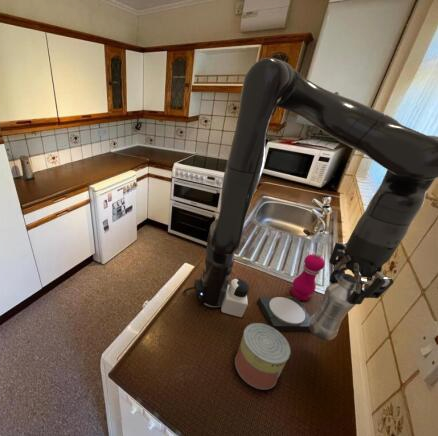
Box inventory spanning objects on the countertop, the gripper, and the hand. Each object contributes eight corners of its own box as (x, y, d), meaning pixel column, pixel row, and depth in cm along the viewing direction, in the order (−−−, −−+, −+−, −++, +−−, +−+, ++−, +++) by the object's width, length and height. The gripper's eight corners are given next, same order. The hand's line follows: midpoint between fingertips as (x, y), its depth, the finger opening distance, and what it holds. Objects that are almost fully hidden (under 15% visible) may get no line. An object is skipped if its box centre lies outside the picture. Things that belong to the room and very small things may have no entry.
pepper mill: (313, 303, 88) (335, 260, 79) (292, 300, 90) (311, 258, 80) (306, 289, 95) (325, 248, 85) (287, 286, 96) (303, 245, 86)
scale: (271, 330, 78) (274, 324, 77) (257, 301, 89) (259, 295, 87) (314, 331, 78) (318, 325, 77) (295, 302, 89) (297, 296, 87)
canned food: (274, 399, 61) (288, 373, 55) (230, 374, 66) (238, 347, 60) (279, 361, 69) (292, 335, 63) (240, 342, 74) (248, 316, 69)
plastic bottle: (328, 326, 68) (360, 272, 58) (336, 347, 62) (373, 292, 53) (303, 319, 70) (330, 266, 60) (308, 339, 64) (339, 284, 55)
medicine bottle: (240, 302, 89) (250, 279, 83) (241, 318, 83) (252, 294, 77) (221, 297, 90) (229, 274, 84) (221, 312, 84) (230, 288, 78)
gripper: (335, 218, 57) (310, 272, 65) (388, 256, 44) (348, 316, 52) (367, 219, 57) (338, 272, 65) (428, 257, 44) (383, 317, 52)
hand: (343, 292), depth 58 cm, fingers closed on plastic bottle, 6 cm apart
